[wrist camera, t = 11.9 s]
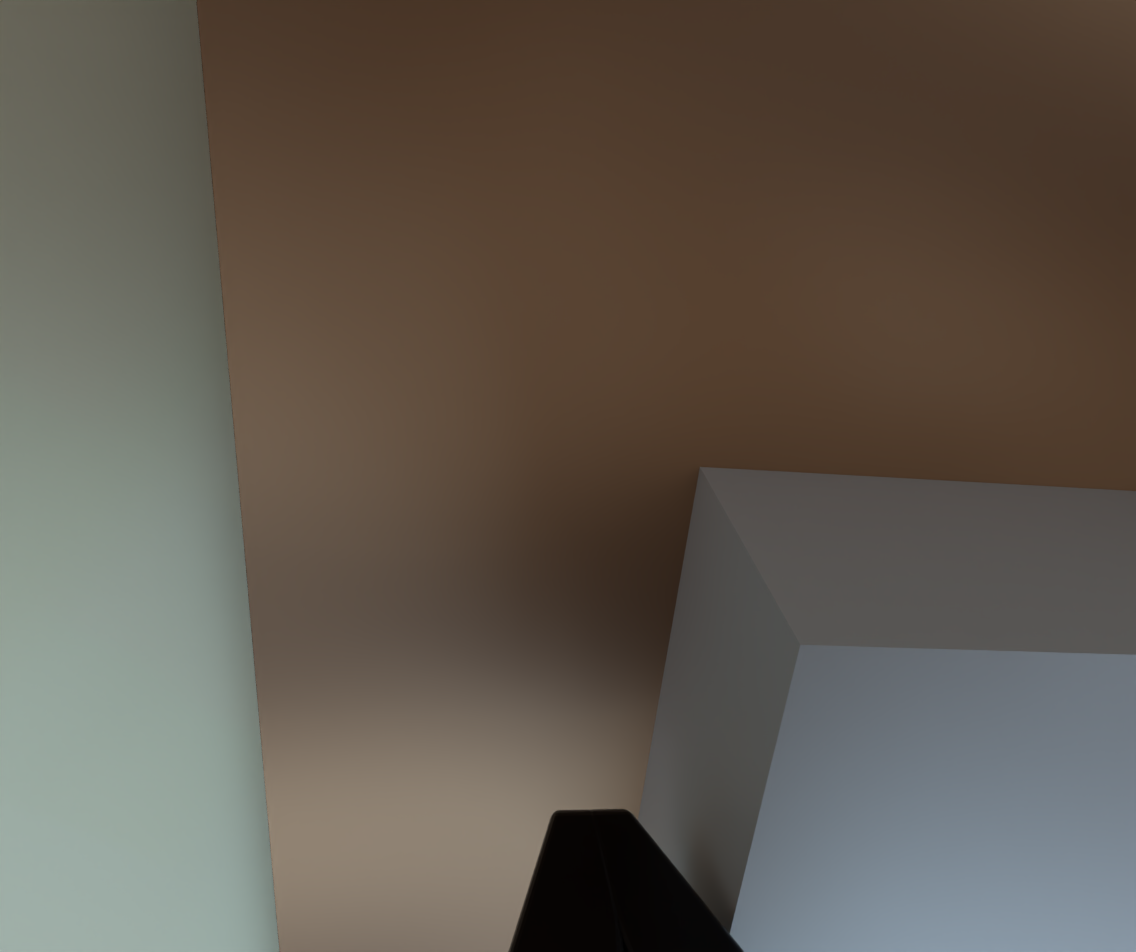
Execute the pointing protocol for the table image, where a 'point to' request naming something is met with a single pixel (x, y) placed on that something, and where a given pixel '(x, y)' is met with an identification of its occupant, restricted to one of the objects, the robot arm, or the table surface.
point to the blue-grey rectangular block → (902, 714)
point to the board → (612, 365)
